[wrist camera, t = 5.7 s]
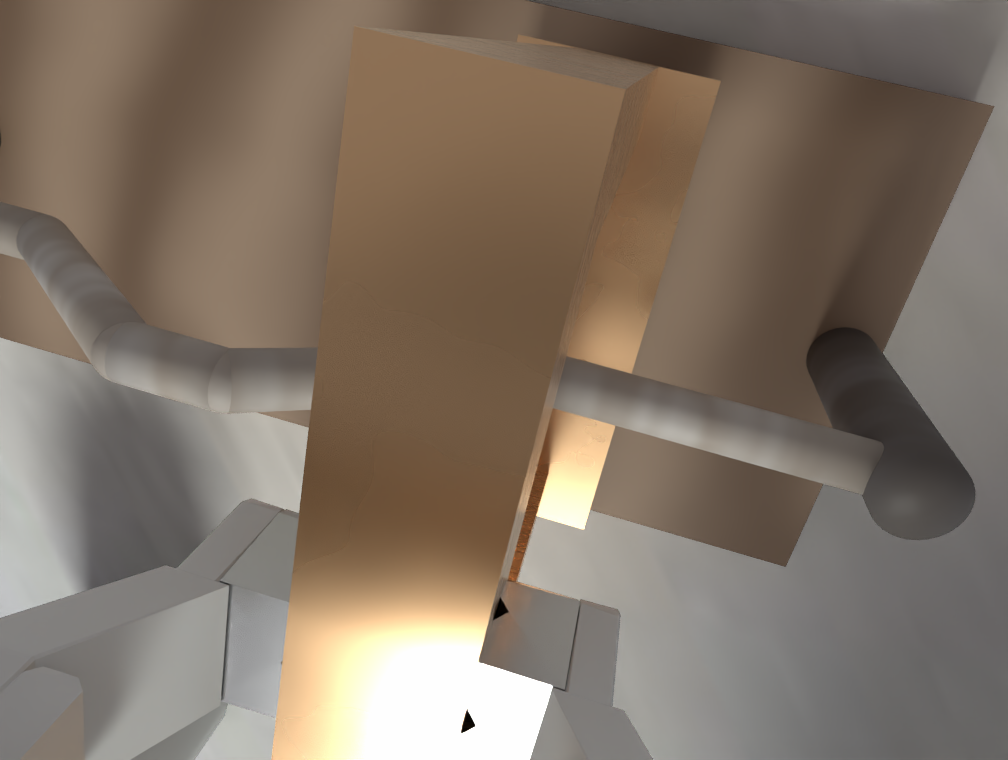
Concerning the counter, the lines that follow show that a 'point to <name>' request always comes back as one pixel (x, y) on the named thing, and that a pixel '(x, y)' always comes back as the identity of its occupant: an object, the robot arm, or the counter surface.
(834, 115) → the buzz board
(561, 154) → the wooden frame
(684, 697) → the counter surface
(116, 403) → the counter surface
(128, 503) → the counter surface
